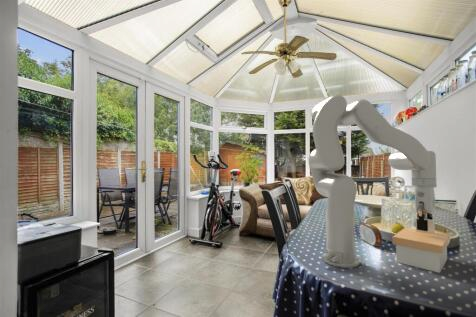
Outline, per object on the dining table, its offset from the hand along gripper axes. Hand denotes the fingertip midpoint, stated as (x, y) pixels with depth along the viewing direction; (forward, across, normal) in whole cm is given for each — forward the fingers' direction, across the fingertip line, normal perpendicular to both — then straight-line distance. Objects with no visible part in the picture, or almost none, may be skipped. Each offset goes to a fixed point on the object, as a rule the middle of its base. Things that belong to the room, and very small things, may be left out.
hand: (425, 227), depth 91 cm
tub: (+11, -6, 0) cm, 12 cm away
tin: (+11, +1, +20) cm, 23 cm away
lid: (+4, -6, 0) cm, 8 cm away
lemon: (+11, +14, +12) cm, 21 cm away
